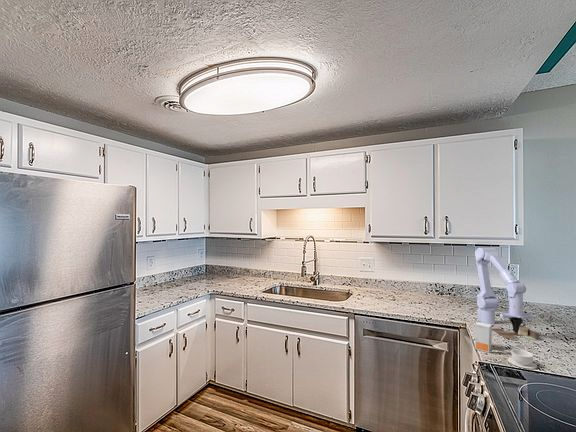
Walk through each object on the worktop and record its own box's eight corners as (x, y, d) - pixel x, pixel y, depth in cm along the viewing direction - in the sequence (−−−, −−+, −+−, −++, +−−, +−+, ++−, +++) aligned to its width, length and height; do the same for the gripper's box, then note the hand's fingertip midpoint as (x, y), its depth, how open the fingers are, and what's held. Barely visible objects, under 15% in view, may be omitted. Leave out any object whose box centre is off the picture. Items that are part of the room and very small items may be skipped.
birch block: (514, 332, 161) (514, 324, 161) (522, 333, 161) (522, 325, 161) (519, 335, 158) (519, 327, 158) (527, 336, 157) (528, 328, 157)
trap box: (489, 331, 167) (489, 322, 167) (518, 332, 166) (518, 323, 166) (506, 341, 153) (506, 332, 153) (537, 342, 152) (538, 333, 152)
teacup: (532, 372, 123) (532, 360, 123) (503, 362, 132) (503, 351, 132) (540, 365, 129) (540, 354, 129) (512, 356, 137) (512, 346, 137)
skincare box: (474, 349, 144) (474, 323, 144) (476, 346, 147) (477, 321, 147) (489, 353, 140) (489, 326, 140) (491, 350, 143) (492, 324, 143)
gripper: (506, 307, 156) (505, 334, 156) (536, 308, 155) (536, 335, 155) (497, 303, 163) (497, 329, 163) (526, 304, 162) (526, 330, 162)
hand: (515, 332), depth 160 cm, fingers closed, pressing on birch block
